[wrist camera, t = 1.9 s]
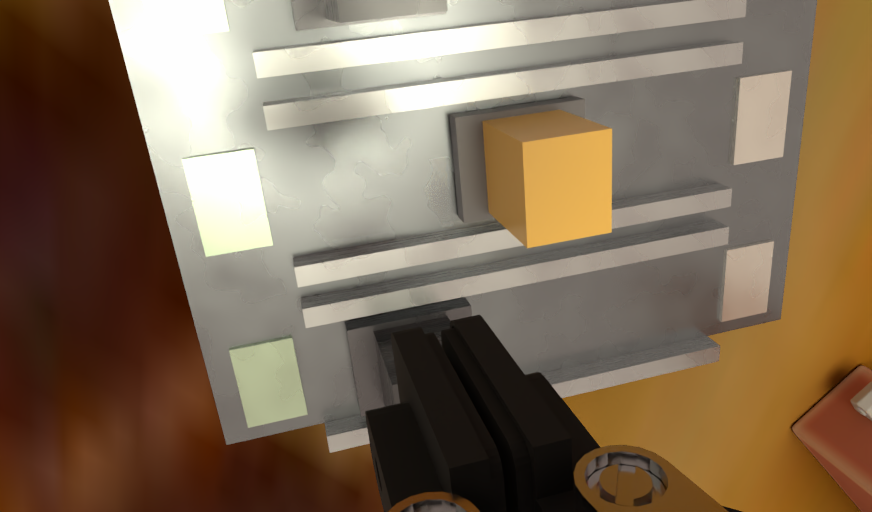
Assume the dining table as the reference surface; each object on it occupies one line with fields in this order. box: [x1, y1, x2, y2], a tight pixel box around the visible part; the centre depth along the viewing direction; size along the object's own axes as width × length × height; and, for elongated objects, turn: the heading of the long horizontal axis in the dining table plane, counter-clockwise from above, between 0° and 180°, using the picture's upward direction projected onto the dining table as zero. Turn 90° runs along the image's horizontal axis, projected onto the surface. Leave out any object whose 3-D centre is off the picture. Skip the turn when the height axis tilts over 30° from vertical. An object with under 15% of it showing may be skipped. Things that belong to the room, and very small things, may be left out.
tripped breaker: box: [449, 96, 612, 248], centre depth 23 cm, size 4×5×5 cm
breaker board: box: [109, 0, 817, 453], centre depth 24 cm, size 22×26×7 cm
